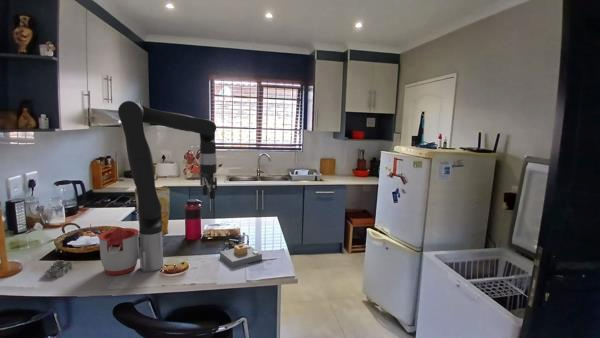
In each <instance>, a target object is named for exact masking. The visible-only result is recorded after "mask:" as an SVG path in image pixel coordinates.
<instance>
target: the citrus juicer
mask: <svg viewBox="0 0 600 338" xmlns="http://www.w3.org/2000/svg"><path fill="white" fill-rule="evenodd" d="M98 239H99V253H100V254H99V256H100V261H101V265H102V267H103V270H104V271H105V273H106V274H108V275H111V276H119V275H123V274H128V273H130V272H131V271H134V269H135V268H136V266H137V264H138V260H139V256H140V251H139V248H140V247H139V246H140V241H139V229H136V228H133V227H132V228H131V227H124V228H122V227H120V226H118V227H116V228H115V229H109V230H106V231H103V232H102V233H100V234H99V235H98Z"/></svg>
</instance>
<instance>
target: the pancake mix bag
mask: <svg viewBox="0 0 600 338" xmlns="http://www.w3.org/2000/svg"><path fill="white" fill-rule="evenodd" d="M155 189H156V193H157V196H158V199H159V200H160V202H161V216H162V235H165V234H169V229H168V226H169V217H170V206H171V188H168V186H158V187H156V186H155ZM134 195H135V203H136V205H135V206H136V210H137V219H138V221H139V205H138V194H137V189H136V188H134ZM138 225H139V226H138V228H139V229H138V231H139V233H138V235H140V224H139V223H138Z"/></svg>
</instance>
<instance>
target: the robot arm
mask: <svg viewBox="0 0 600 338" xmlns="http://www.w3.org/2000/svg"><path fill="white" fill-rule="evenodd" d="M117 114H118V118H119V120H120V123H121V126H122V129H123V132H124V136H125V145H126V151H127V152H126V153H127V158H128V165H129V169H130V173H131V176H132V180H133V182H134V186H135V189H137V194H138V205H139V220H138V225H139V224H140V234H139V246H140V247H139V268H140V269H141V271H142V272H143V273H145V272H146V273H147V272H155V271H159V270H160V269H162V268H163V267H164V250H163V248H164V245H163V234H162V216H161V202H160V200H159V199H158V196H157V193H156V189H155V187H156V183H155V182H156V181H155V178H156V176H155V167H154V160H153V155H152V152H151V148H150V146H149V142H148V141H147V137H146V135H145V129H144V124H153V125H158V126H162V127H166V128H170V129H173V130H179V131H184V132H190V133H191V132H192V133H195V134H199V140H200V142H199V173H200V175H199V176H200V178H199V180H200V182H199V183H200V184H199V185H200V186H201V188H202V196H209V199H210V200H213V199H216V198H215V195H216V194H215V193H216V192H215V191H217V190H218V180H217V179H218V178H217V176H214V174H217V154H216V153H217V150H216V149H217V148H216V147H217V145H216V139H215V136H216V134H215V133H216V131H217V125H216V123H215V122H214V120H211V119H207V118H206V119H205V118H199V117H195V116H191V115H187V114H182V113H177V112H171V111H163V110H158V109H154V108H150V107H147V106H145V105H142V104H140V103H138V102H136V101H132V100H126V101H123V102H121V104H120V105H119V107H118V109H117ZM208 190H209V191H208ZM208 192H209V195H208ZM162 266H163V267H162ZM161 267H162V268H161Z"/></svg>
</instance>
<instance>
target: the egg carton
mask: <svg viewBox="0 0 600 338" xmlns="http://www.w3.org/2000/svg"><path fill="white" fill-rule="evenodd" d="M73 263H74V261H72V260H71V261H69V260H68V261H66V262H64V261H63V260H59V259H57V260H55V261H54V262H53V263H52V265H50V267H49V268H47V269H46V270H45V271H44V274H46V275H45V276H46V277H47V278H48V279H50V278H53V277H56V278H61V277H63V276H66V275H65V273H68V272H70V270H72V269H73V268H74V265H73ZM61 268H62V269H61Z"/></svg>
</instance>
